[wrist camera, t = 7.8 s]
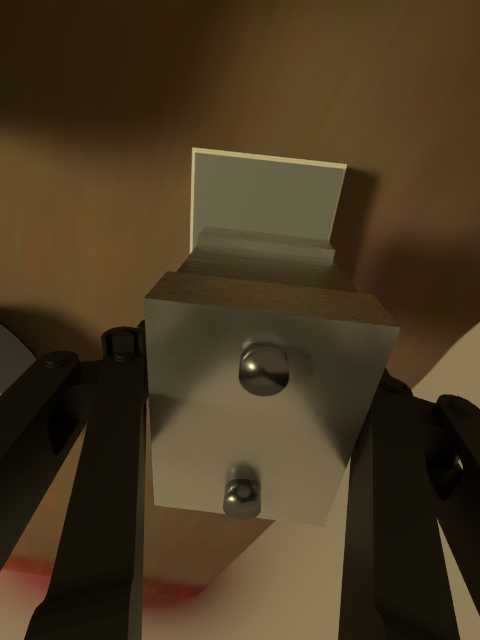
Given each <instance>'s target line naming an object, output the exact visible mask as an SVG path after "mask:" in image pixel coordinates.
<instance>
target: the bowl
mask: <svg viewBox="0 0 480 640" xmlns="http://www.w3.org/2000/svg"><path fill="white" fill-rule="evenodd" d="M35 361H36V358H35V357H34V355H33V354H32V353H31V352H30V351H29V350H28V349H27V347H26V346H25V345H24V344H23V343H22V342H21V341H20V340H19V339H18V338H17V337H16V336H14V335H13V334H12V333H11V332H10V331H9V330H7V329H6V328H5V327H3V326H2V325H1V324H0V395H1V394H2V393H3V392H4V391H5V390H6V389H7V388H8V387H9V386H10V385H11V384H12V383H13V382H15V381H16V380H17V379H18V378H19V377H20V376H21V375H22V374H23V373H24V372H25V371H26V370H27V369H28V368H29V367H30V366H31V365H32V364H33V363H34V362H35Z"/></svg>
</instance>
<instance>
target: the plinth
mask: <svg viewBox="0 0 480 640" xmlns="http://www.w3.org/2000/svg"><path fill="white" fill-rule="evenodd" d="M346 167H347V164H339V163H330V162H321V161H311V160H302V159H293V158H284V157H275V156H266V155H257V154H248V153H239V152H230V151H221V150H211V149H202V148H193V147H192V183H191V227H190V254H191V252H192V251H193V250H194V248H195V247H196V246H197V245H198V235H199V233H200V232H201V231H202V230H203V229H204V228H205V226H209V227H218V228H226V229H235V230H244V231H253V232H262V233H271V234H280V235H289V236H298V237H307V238H315V239H324V240H328V242H329V241H330V236H331V232H332V228H333V223H334V219H335V215H336V210H337V206H338V202H339V197H340V193H341V189H342V184H343V180H344V176H345V171H346Z"/></svg>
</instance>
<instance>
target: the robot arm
mask: <svg viewBox="0 0 480 640" xmlns="http://www.w3.org/2000/svg"><path fill="white" fill-rule="evenodd" d="M101 341H102V349H103V356H104V357H103V360H99V361H89V362H79V358H78V355H77V354H75V353H74V352H70V351H55V352H50V353H48V354H45V355H43V356H41V357H40V358H38V359H37V360H36V361H35V362H34V363H33V364H32V365H31V366H30V367H29V368H28V369H27V370H26V371H25V372H24V373H23V374H22V375H21V376H20V377H19V378H18V379H17V380H16V381H15V382H13V383H12V384H11V385H10V386H9V387H8V388H7V389H6V390H5V391H4V392H3V393H2V394H1V395H0V571H1V569H2V568H3V566H4V564H5V562H6V561H7V559H8V557H9V556H10V554H11V552H12V550H13V549H14V547H15V545H16V543H17V542H18V540H19V538H20V537H21V535H22V533H23V531H24V530H25V528H26V526H27V524H28V523H29V521H30V519H31V518H32V516H33V514H34V512H35V511H36V509H37V507H38V505H39V504H40V502H41V500H42V498H43V497H44V495H45V493H46V492H47V490H48V488H49V486H50V485H51V483H52V481H53V479H54V478H55V476H56V474H57V473H58V471H59V469H60V467H61V466H62V464H63V462H64V460H65V459H66V457H67V455H68V454H69V452H70V450H71V448H72V447H73V445H74V443H75V441H76V440H77V438H78V436H79V435H80V433H81V431H82V429H83V428H84V426H85V424H86V422H87V420H88V419H89V421H88V425H87V429H86V433H85V438H84V442H83V446H82V450H81V454H80V459H79V463H78V467H77V471H76V476H75V480H74V484H73V488H72V492H71V497H70V501H69V505H68V509H67V514H66V518H65V522H64V526H63V530H62V535H61V539H60V543H59V547H58V551H57V556H56V560H55V564H54V568H53V573H52V577H51V581H50V585H49V589H48V592H47V595H46V597H45V599H44V601H43V602H42V603H41V604H40V605H39V606H38V607H36V609H35V611H34V613H33V615H32V618H31V620H30V622H29V626H28V629H27V632H26V635H25V638H24V640H141V637H142V589H143V545H144V500H145V456H146V411H147V410H146V401H147V398H148V396H149V389H148V369H147V350H146V331H145V319H144V320H143V321H141V323H140V324H139V325H138V327H137V328H133V327H124V326H123V327H115V328H112V329H109V330H107V331H106V332H104V333H103V334H102V336H101ZM459 459H460V460H461V463H462V465H463V470H462V468H461V467H460V465H459V463H458V461H459ZM436 517H437V518H436ZM437 519H438V521H439V524H440V526H441V528H442V530H443V533H444V535H445V537H446V540H447V542H448V544H449V547H450V549H451V551H452V553H453V556H454V558H455V560H456V563H457V565H458V567H459V570H460V572H461V574H462V576H463V579H464V581H465V583H466V586H467V588H468V590H469V593H470V595H471V597H472V599H473V602H474V604H475V606H476V609H477V611H478V613H479V616H480V409H479V408H478V407H477V406H475V405H474V404H472V403H471V402H469V401H468V400H466V399H463V398H462V397H459V396H454V395H446V394H444V395H441V396H439V398H438V400H437V402H436V403H433V402H429V401H426V400H423V399H420V398H417V397H414V396H413V394H412V391H411V389H410V388H409V387H408V386H407V385H406V384H405V383H403V382H402V381H400V380H398V379H396V378H393V377H391V376H390V374H389V373H388V371H387V369H386V368H385V369H384V372H383V374H382V377H381V379H380V382H379V385H378V387H377V390H376V392H375V395H374V397H373V400H372V403H371V405H370V408H369V410H368V413H367V415H366V418H365V421H364V423H363V426H362V428H361V431H360V433H359V436H358V439H357V441H356V444H355V446H354V449H353V451H352V454H351V462H350V476H349V492H348V505H347V520H346V534H345V549H344V562H343V563H344V564H343V577H342V591H341V605H340V607H341V608H340V620H339V634H338V640H460V636H459V632H458V627H457V621H456V616H455V611H454V606H453V601H452V596H451V590H450V585H449V580H448V575H447V571H446V565H445V559H444V554H443V549H442V544H441V538H440V533H439V528H438V523H437Z"/></svg>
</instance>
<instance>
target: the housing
mask: <svg viewBox="0 0 480 640" xmlns="http://www.w3.org/2000/svg"><path fill="white" fill-rule="evenodd" d="M335 251H336V250H335V249H334V248H333V246H332V245H331V244H330V243H329V242H328V240H324V239H315V238H307V237H298V236H289V235H280V234H271V233H262V232H253V231H244V230H235V229H226V228H218V227H209V226H205V228H204V229H203V230H202V231H201V232H200V233H199V235H198V245H197V246H196V247H195V248H194V250H193V251H192V252H191V254H190V255H189V256H188V258H187V259H186V260H185V262H184V263H183V264H182V265H181V267H180V268H179V269H178V271H177V272H171V271H167V272H166V273H165V274H164V275H163V276H162V278H161V279H160V280H159V281H158V282H157V283H156V285H155V286H154V287H153V288H152V289H151V290H150V291H149V293H148V294H147V295H146V296H145V297H144V311H145V331H146V350H147V369H148V389H149V408H150V427H151V447H152V466H153V485H154V505H157V506H166V507H174V508H182V509H190V510H198V511H207V512H215V513H223V514H227V515H228V516H230V517H232V518H234V519H238V520H249V519H253V518H255V517H256V518H264V519H272V520H281V521H289V522H297V523H305V524H314V525H322V526H324V523H325V521H326V518H327V516H328V513H329V511H330V508H331V505H332V503H333V500H334V498H335V495H336V493H337V490H338V487H339V485H340V482H341V480H342V477H343V475H344V472H345V469H346V467H347V464H348V462H349V459H350V457H351V454H352V451H353V449H354V446H355V444H356V441H357V439H358V436H359V433H360V431H361V428H362V426H363V423H364V421H365V418H366V415H367V413H368V410H369V408H370V405H371V403H372V400H373V397H374V395H375V392H376V390H377V387H378V385H379V382H380V379H381V377H382V374H383V372H384V369H385V367H386V364H387V361H388V359H389V356H390V354H391V351H392V349H393V346H394V343H395V341H396V338H397V336H398V333H399V331H400V328H401V327H400V326H399V325H398V324H397V323H396V322H395V320H394V319H393V318H392V317H391V316H390V314H389V313H388V312H387V311H386V310H385V308H384V307H383V306H382V305H381V304H380V302H379V301H378V300H377V299H376V298H375V296H374V295H373V294H364V293H358V292H357V290H356V289H355V288H354V286H353V285H352V284H351V282H350V281H349V280H348V278H347V277H346V275H345V274H344V273H343V271H342V270H341V269H340V267H339V266H338V265H337V263H336V262H335V261H334V255H335Z"/></svg>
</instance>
